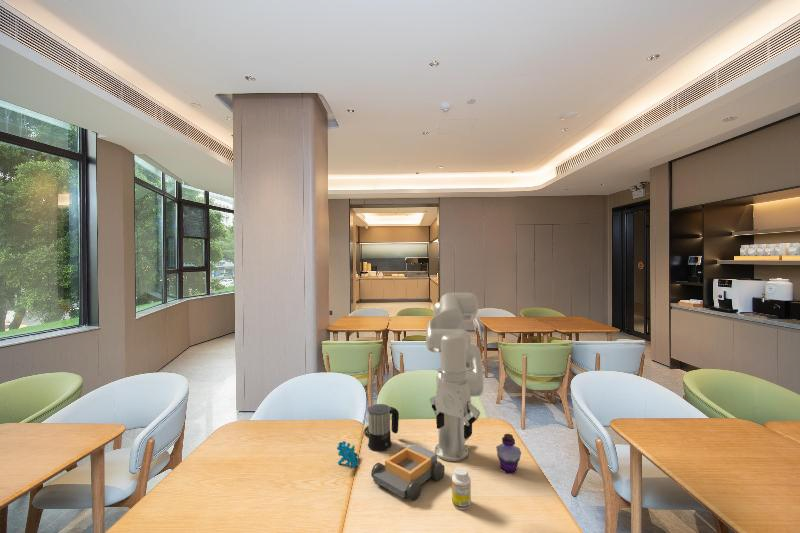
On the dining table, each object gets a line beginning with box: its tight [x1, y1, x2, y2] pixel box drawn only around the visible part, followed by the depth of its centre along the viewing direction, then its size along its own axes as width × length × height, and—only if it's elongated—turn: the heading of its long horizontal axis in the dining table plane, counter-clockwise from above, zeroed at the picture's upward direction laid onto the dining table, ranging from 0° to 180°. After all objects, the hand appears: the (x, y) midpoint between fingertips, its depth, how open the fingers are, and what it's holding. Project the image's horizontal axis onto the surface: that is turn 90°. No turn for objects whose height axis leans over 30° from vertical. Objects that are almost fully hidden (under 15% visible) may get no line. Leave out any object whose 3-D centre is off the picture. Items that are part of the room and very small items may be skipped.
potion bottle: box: [496, 433, 522, 474], centre depth 127 cm, size 9×9×12 cm
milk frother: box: [363, 403, 400, 452], centre depth 147 cm, size 14×16×15 cm
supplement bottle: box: [451, 466, 472, 510], centre depth 110 cm, size 6×6×10 cm
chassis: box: [371, 443, 446, 502], centre depth 122 cm, size 20×17×6 cm
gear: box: [336, 440, 360, 469], centre depth 132 cm, size 11×6×10 cm
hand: (453, 432), depth 110 cm, fingers open, 9 cm apart
